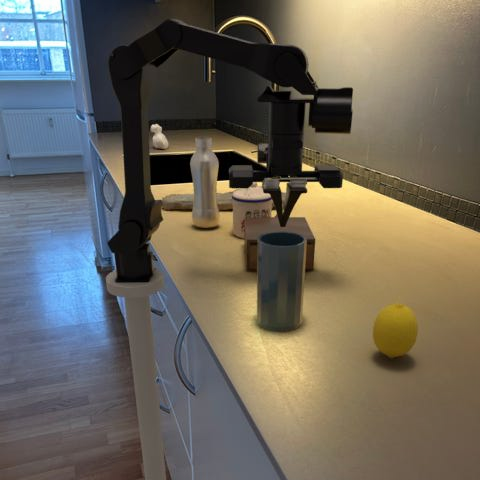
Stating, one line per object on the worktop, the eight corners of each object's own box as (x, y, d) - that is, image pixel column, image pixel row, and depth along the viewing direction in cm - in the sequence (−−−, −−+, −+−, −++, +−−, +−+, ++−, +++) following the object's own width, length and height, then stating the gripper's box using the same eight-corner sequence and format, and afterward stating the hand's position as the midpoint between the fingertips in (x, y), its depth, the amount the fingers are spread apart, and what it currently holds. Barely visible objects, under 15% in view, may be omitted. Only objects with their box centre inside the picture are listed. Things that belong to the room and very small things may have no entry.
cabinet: (313, 270, 96) (315, 239, 93) (246, 270, 96) (246, 239, 93) (303, 245, 109) (304, 217, 106) (244, 245, 109) (244, 217, 106)
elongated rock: (164, 207, 141) (161, 219, 133) (161, 188, 139) (158, 199, 130) (289, 198, 142) (295, 210, 134) (289, 179, 140) (295, 190, 131)
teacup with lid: (240, 241, 111) (240, 187, 106) (226, 230, 119) (225, 179, 113) (290, 235, 115) (292, 183, 109) (274, 224, 122) (275, 175, 117)
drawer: (314, 276, 91) (316, 254, 89) (250, 277, 91) (251, 254, 89) (302, 244, 107) (303, 224, 105) (247, 244, 107) (247, 224, 105)
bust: (160, 151, 233) (143, 131, 228) (173, 140, 231) (156, 119, 226) (160, 155, 222) (142, 134, 217) (173, 144, 221) (156, 122, 216)
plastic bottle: (208, 221, 125) (206, 135, 116) (225, 227, 121) (224, 138, 111) (186, 226, 122) (182, 137, 112) (203, 232, 117) (200, 141, 108)
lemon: (361, 357, 68) (368, 303, 64) (383, 343, 72) (391, 290, 68) (398, 373, 65) (408, 317, 61) (420, 357, 68) (430, 303, 64)
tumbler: (257, 331, 75) (259, 246, 69) (255, 311, 81) (256, 231, 75) (304, 331, 75) (309, 246, 69) (298, 310, 81) (303, 231, 75)
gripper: (334, 126, 90) (327, 213, 97) (228, 126, 90) (229, 214, 97) (347, 135, 80) (338, 231, 87) (228, 135, 80) (229, 232, 87)
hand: (282, 226), depth 90 cm, fingers closed
